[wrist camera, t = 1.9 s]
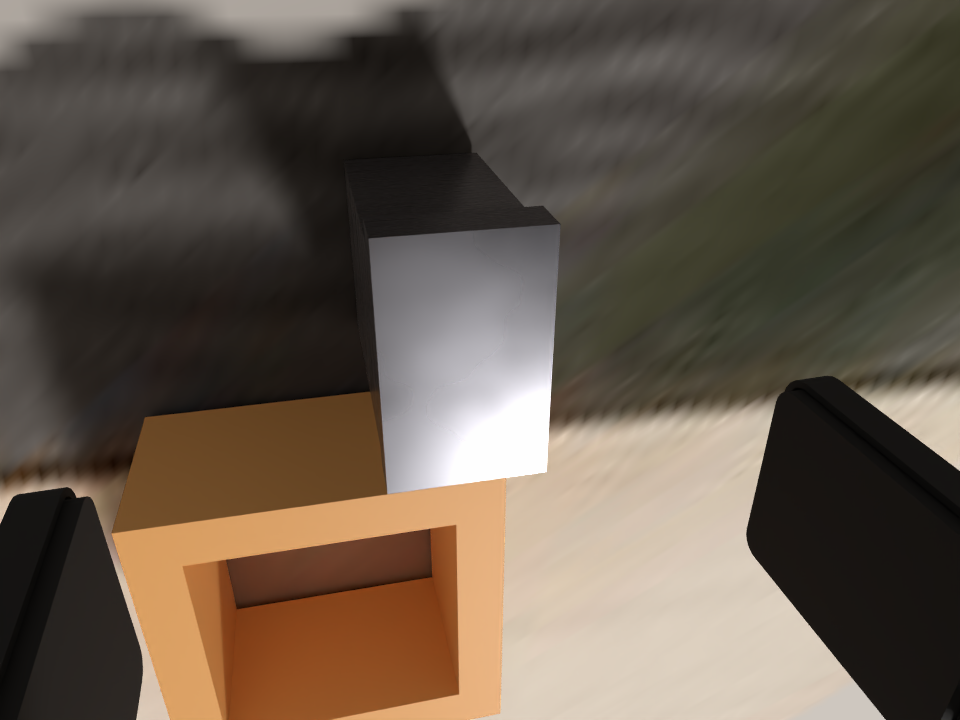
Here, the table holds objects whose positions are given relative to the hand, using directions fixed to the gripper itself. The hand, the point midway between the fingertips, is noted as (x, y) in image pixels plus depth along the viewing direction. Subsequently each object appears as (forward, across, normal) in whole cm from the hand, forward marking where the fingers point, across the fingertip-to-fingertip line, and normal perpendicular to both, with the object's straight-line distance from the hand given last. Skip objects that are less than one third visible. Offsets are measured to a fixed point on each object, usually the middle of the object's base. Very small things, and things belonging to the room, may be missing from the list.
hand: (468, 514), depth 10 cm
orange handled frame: (+10, +2, +12) cm, 16 cm away
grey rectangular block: (+10, -1, 0) cm, 10 cm away
